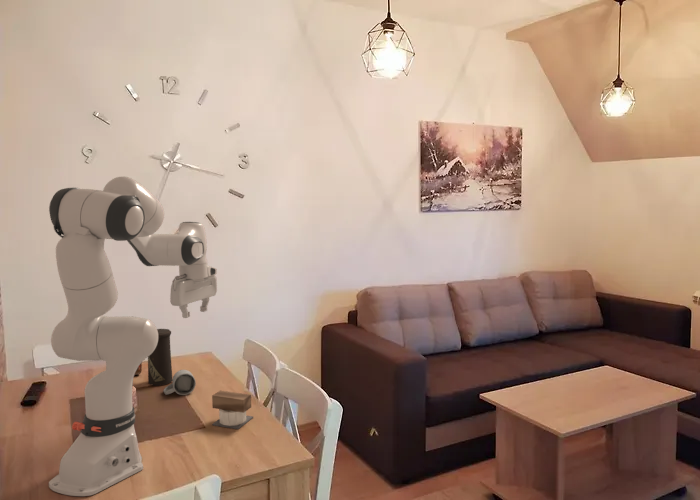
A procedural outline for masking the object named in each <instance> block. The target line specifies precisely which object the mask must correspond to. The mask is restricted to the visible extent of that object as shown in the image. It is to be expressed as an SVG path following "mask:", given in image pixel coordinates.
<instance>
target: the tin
mask: <svg viewBox="0 0 700 500" xmlns="http://www.w3.org/2000/svg"><path fill="white" fill-rule="evenodd" d="M142 363H143V362H142ZM142 363H141V364H140V365H139V366H138V368H137V370H136V372H135V375H134V376H137V375H141V373H142V370H143V368H142V366H143V364H142Z"/></svg>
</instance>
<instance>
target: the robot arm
mask: <svg viewBox="0 0 700 500" xmlns="http://www.w3.org/2000/svg"><path fill="white" fill-rule="evenodd" d="M48 208H49V210H48V212H49V217H50V218H49V219H50V221H51V223H52V225H53V230H54V232H55V233H56V234H57V235H58V236H59V237H60V238H61V239H59V241H58V242H57V243H56V246H55V258H56V260H55V261H56V266H57V272H58V276H59V278H60V279H59V280H60V283H61V285H62V289H63V292H64V296H65V299H66V303H67V308H68V309H67V315H66V316H65V317H64V318H63V319H62V320H61V321H59V322H58V323H57V324H56V326H55V327H54V328H53V331H52V333H51V336H50V343H51V347H52V350H53V352H54V353H55V355H56V356H57V357H58V358H61V359H66V360H71V361H78V362H83V361H84V362H85V361H88V362H89V361H90V362H91V361H92V362H93V361H103V362H104V361H105V370H103V371H101V372H99V373H97V374H96V375H94V376H93V377H91V378H90V379H89V380H88V381H87V383H86V385H85V386H84V387H85V388H84V405H85V413H84V416H83V420H82V422H79V421H74V422H73V423H72V425H71V428H72V430H73V431H78V432H80V433H79V435H78V437H77V438H76V439H75V441H74V442H73V443H72V444H71V446H70V447H69V448H68V449H67V451H66V452H65V453H64V455H63V456H62V457H61V460H60V462H59V471H58V472H59V473H58V474H57V475H56V476H54V477H53V478H51V480H49V481H48V488H49V489H50V490H51V491H53V492H55V493H58V494H62V495H65V496H71V497H88V496H89V497H90V496H94V495H95V494H97V493H100V492H102V491H103V490H105V489H107V488H109V487H111V486H113V485H115V484H117V483H119V482H121V481H123V480H125V479H127V478H130V477H131V476H133V475H134V474H136V473H139V472H141V471H142V470H144V464H143V461H142V459H143V457H142V455H141V453H140V449H139V443H138V438H137V437H138V436H137V434H136V430H135V423H136V414H135V413H136V412H135V407H134V406H133V383H134V382H133V381H134V377H135V376H136V375H135V372H136V370H137V368H138V366H139V365H140V364H141V363H143V362H144V361H145V360H146V359H148V356H150V355H151V354H152V352H153V351H154V350H155V348H156V346H157V343H158V331H157V329H158V328H157V326H156V324H155V323H154V322H153V321H152V320H151V319H148V318H143V317H137V316H105V314H107V313H108V312H109V311H111V309H113V308H114V306H116V303H117V302H118V296H119V293H118V289H117V286H116V281H115V277H114V274H113V271H112V266H111V264H110V261H109V258H108V256H107V253H106V252H105V240H114V241H116V242H118V241H120V242H123V241H124V242H125V241H127V242H128V244H129V245H130V247H132V248H133V250H134V251H135V253H136V257H138V260H139V261H140V262H141V263H142V264H143V265H144V266H146V267H158V266H166V267H167V266H168V267H169V266H170V267H172V266H173V267H175V266H176V267H178V270H179V271H178V273H179V275H176V276H174V278H173V279H172V283H171V286H170V295H169V297H170V298H169V300H170V304H171V305H172V306H174V307H179V310H180V311H181V315H182V318H183V319H187V318H190V317H191V315H190V314H191V313H190V312H191V311H189V310H188V307H189V306H188V304H189V305H190V304H192V303H195V302H198V301H202V302H201V305H200V306H199V311H200V312H203V313H205V312H208V306H209V303H210V298H211V297H215V296H216V294H217V291H218V281H217V276H216V275H217V273H218V271H217V270H218V269H217V268H216V267H213V266H210V265H208V259H207V252H208V245H207V243H208V242H207V233H206V229H205V225H204V224H203V223H201V222H197V221H182V222H180V223H179V225H178V232H176V233H169V234H168V233H156V232H157V231H159V229H160V228H161V227H162V224H163V223H164V219H165V211H164V207H163V205H162V203H161V202H160V200H159V199H158V198H157V197H156V196H155V195H154V194H153V193H152V192H151V191H150V190H149V189H148V188H146V187H145V186H144V185H142V184H141V183H140V182H138V181H136V180H135V179H133V178H132V177H128V176H117V177H114V178H112V179H111V180H109V181H108V182H107V183H106V184H105V185H104V187H103V189H102V190H99V189H90V188H79V187H66V188H62V189H59V190H57V191H56V192H55V193H54V195H53V196H52V198H51V200H50V203H49V207H48Z"/></svg>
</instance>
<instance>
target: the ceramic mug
mask: <svg viewBox="0 0 700 500" xmlns="http://www.w3.org/2000/svg"><path fill="white" fill-rule="evenodd" d="M196 382H197V380H196V378H195V376H194V375H193V373H192V372H191V371H190V370H187V369H180V370H177V371H176V372H175V373H174V375H172V382H171V383H169V384H167V386H166V387H164V389H163V393H164V394H165V396H166V395H171V394H172V393H174V392H175V393H176V394H177V395H179V396H187V395H190V394H191V393H192V392H193V391H194V390H195V388H196V386H197V383H196Z"/></svg>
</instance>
